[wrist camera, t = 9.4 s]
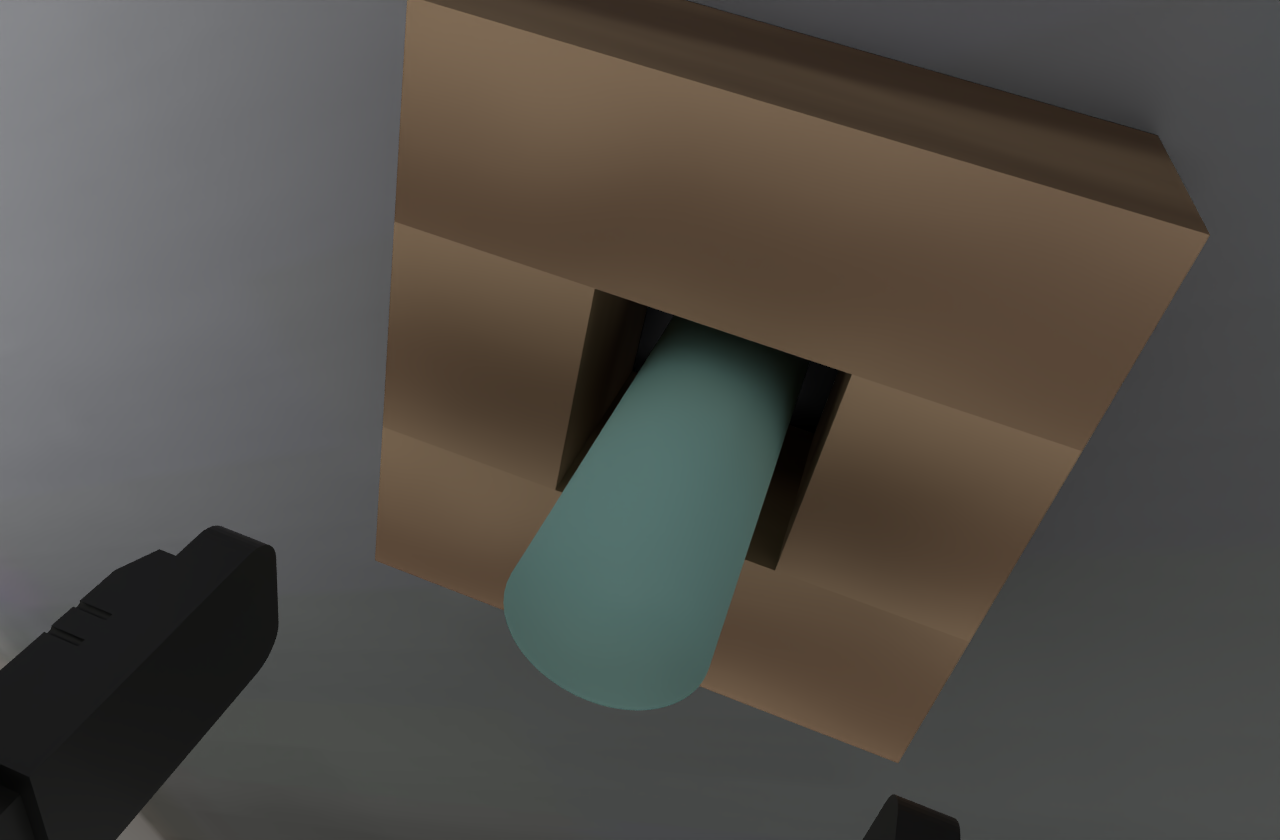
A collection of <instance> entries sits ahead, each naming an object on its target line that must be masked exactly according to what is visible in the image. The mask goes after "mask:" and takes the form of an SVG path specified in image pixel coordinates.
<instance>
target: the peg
mask: <svg viewBox="0 0 1280 840" xmlns="http://www.w3.org/2000/svg"><path fill="white" fill-rule="evenodd" d="M809 362H810V360H807V359H804V358H801V357H798V356H795V355H792V354H789V353H786V352H783V351H780V350H777V349H774V348H771V347H768V346H765V345H762V344H759V343H756V342H753V341H750V340H747V339H744V338H741V337H738V336H735V335H732V334H729V333H726V332H723V331H720V330H717V329H714V328H711V327H708V326H705V325H702V324H700V323H697V322H694V321H691V320H688V319H685V318H682V317H679V316H676V315H674V317H673V318H672V320H671V321H670V323H669V325H668V326H667V328H666V329H665V331H664V333H663V334H662V336H661V337H660V339H659V340H658V342H657V344H656V345H655V347H654V348H653V350H652V352H651V353H650V355H649V356H648V358H647V359H646V361H645V363H644V364H643V366H642V367H641V369H640V371H639V372H638V374H637V375H636V377H635V378H634V380H633V382H632V383H631V385H630V386H629V388H628V390H627V391H626V393H625V394H624V396H623V397H622V399H621V401H620V402H619V404H618V405H617V407H616V409H615V410H614V412H613V413H612V415H611V416H610V418H609V420H608V421H607V423H606V424H605V426H604V427H603V429H602V431H601V432H600V434H599V435H598V437H597V439H596V440H595V442H594V443H593V445H592V446H591V448H590V450H589V451H588V453H587V454H586V456H585V458H584V459H583V461H582V462H581V464H580V465H579V467H578V469H577V470H576V472H575V473H574V475H573V477H572V478H571V480H570V481H569V483H568V484H567V486H566V488H565V489H564V491H563V492H562V494H561V496H560V497H559V499H558V500H557V502H556V503H555V505H554V507H553V508H552V510H551V511H550V513H549V515H548V516H547V518H546V519H545V521H544V522H543V524H542V526H541V527H540V529H539V530H538V532H537V534H536V535H535V537H534V538H533V540H532V541H531V543H530V545H529V546H528V548H527V549H526V551H525V553H524V554H523V556H522V557H521V559H520V560H519V562H518V564H517V565H516V567H515V568H514V570H513V572H512V573H511V575H510V577H509V579H508V581H507V584H506V588H505V591H504V601H503V603H504V614H505V618H506V622H507V625H508V628H509V630H510V633H511V635H512V637H513V638H514V640H515V642H516V644H517V645H518V647H519V648H520V650H521V651H522V653H523V654H524V655H525V656H526V658H527V659H528V660H529V661H530V662H531V663H532V664H533V665H534V666H535V667H536V668H537V669H538V670H539V671H540V672H541V673H542V674H543V675H545V676H546V677H547V678H548V679H550V680H551V681H552V682H554V683H555V684H557V685H558V686H560V687H561V688H563V689H565V690H567V691H568V692H570V693H572V694H574V695H576V696H578V697H581V698H583V699H585V700H588V701H590V702H593V703H596V704H599V705H603V706H607V707H611V708H617V709H623V710H652V709H658V708H663V707H666V706H669V705H672V704H675V703H677V702H679V701H681V700H683V699H684V698H686V697H688V696H689V695H691V694H692V693H693V692H694V691H695V690H696V689H697V688H698V687H699V685H700V684H701V683H702V681H703V680H704V678H705V676H706V674H707V672H708V670H709V667H710V664H711V660H712V657H713V654H714V651H715V648H716V645H717V642H718V639H719V636H720V633H721V630H722V627H723V624H724V621H725V618H726V615H727V612H728V609H729V606H730V603H731V600H732V597H733V594H734V591H735V588H736V584H737V581H738V578H739V575H740V572H741V569H742V566H743V563H744V560H745V557H746V554H747V551H748V548H749V545H750V542H751V539H752V536H753V533H754V530H755V527H756V524H757V521H758V518H759V515H760V511H761V508H762V505H763V502H764V499H765V496H766V493H767V490H768V487H769V484H770V481H771V478H772V475H773V472H774V469H775V466H776V463H777V460H778V457H779V454H780V451H781V448H782V445H783V442H784V439H785V435H786V432H787V429H788V426H789V423H790V420H791V417H792V414H793V411H794V408H795V405H796V402H797V399H798V396H799V393H800V390H801V387H802V384H803V381H804V378H805V375H806V372H807V369H808V366H809Z"/></svg>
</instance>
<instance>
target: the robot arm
mask: <svg viewBox="0 0 1280 840" xmlns="http://www.w3.org/2000/svg"><path fill="white" fill-rule="evenodd" d="M277 632H278V596H277V570H276V553H275V551H274V549H273V547H271V546H270V545H267V544H265V543H262V542H260V541H257V540H255V539H252V538H250V537H247V536H244V535H242V534H239V533H237V532H234V531H232V530H229V529H227V528H224V527H222V526H212V527H209V528H207V529H206V530H204V531H203V532H202V533H200V534H199V535H198V536H197V537H196V538H195V539H194V540H193V541H192V542H190V543H189V544H188V545H187V546H186V547H185V548H184V549H183V550H182V551H181V552H180V553H179V554H177V555H176V556H175V555H172V554H170V553H167V552H165V551H162V550H160V549H159V550H157V551H155V552H153V553H151V554H149V555H146V556H144V557H142V558H140V559H138V560H136V561H134V562H131V563H129V564H127V565H125V566H123V567H121V568H119V569H116V570H115V571H113V572H112V573H111V574H110V575H109V576H108V577H107V578H105V579H104V580H103V581H102V582H101V583H100V584H99V585H97V586H96V587H95V588H94V589H93V590H92V591H91V592H89V593H88V594H87V595H86V596H85V597H84V598H83V599H81V600H80V604H79V605H78V606H77V607H76V608H75V607H72V608H71V609H70V610H69V611H68V612H67V613H65V614H64V615H63V616H62V617H61V618H60V619H58V620H57V621H56V622H55V623H54V624H53V625H52V627H51V630H50V631H49V632H48V633H45V632H44V633H42V634H41V635H40V636H39V637H38V638H37V639H36V640H34V641H33V642H32V643H31V644H30V645H29V646H28V647H26V648H25V649H24V650H23V651H22V652H21V653H20V654H18V655H17V656H16V657H15V658H14V659H13V660H12V661H10V662H9V663H8V664H7V665H6V666H5V667H4V668H2V669H1V670H0V840H116V839H117V838H118V836H119V835H120V834H121V833H122V832H123V831H124V829H125V828H126V827H127V826H128V825H129V824H130V822H131V821H132V820H133V819H134V818H135V816H136V815H137V814H138V813H139V812H140V811H141V809H142V808H143V807H144V806H145V805H146V804H147V802H148V801H149V800H150V799H151V798H152V796H153V795H154V794H155V793H156V792H157V791H158V789H159V788H160V787H161V786H162V785H163V784H164V782H165V781H166V780H167V779H168V778H169V776H170V775H171V774H172V773H173V772H174V771H175V769H176V768H177V767H178V766H179V765H180V763H181V762H182V761H183V760H184V759H185V758H186V756H187V755H188V754H189V753H190V752H191V750H192V749H193V748H194V747H195V746H196V745H197V743H198V742H199V741H200V740H201V739H202V737H203V736H204V735H205V734H206V733H207V732H208V730H209V729H210V728H211V727H212V726H213V725H214V723H215V722H216V721H217V720H218V719H219V717H220V716H221V715H222V714H223V713H224V712H225V710H226V709H227V708H228V707H229V706H230V704H231V703H232V702H233V701H234V700H235V699H236V697H237V696H238V695H239V694H240V693H241V691H242V690H243V689H244V688H245V687H246V686H247V684H248V683H249V682H250V681H251V680H252V679H253V677H254V676H255V675H256V674H257V673H258V671H259V670H260V669H261V667H262V666H263V664H264V663H265V661H266V659H267V658H268V656H269V654H270V652H271V650H272V647H273V645H274V642H275V639H276V636H277ZM863 840H960V827H959V823H958V821H957V820H956V819H955V818H953V817H950V816H948V815H945V814H943V813H940V812H937V811H935V810H932V809H930V808H927V807H925V806H922V805H920V804H917V803H915V802H912V801H910V800H907V799H905V798H902V797H899V796H897V795H891V796H890V797H889V798H888V800H887V801H886V803H885V804H884V806H883V807H882V809H881V811H880V812H879V814H878V816H877V817H876V819H875V820H874V822H873V824H872V825H871V827H870V829H869V830H868V832H867V834H866V835H865V837H864V838H863Z"/></svg>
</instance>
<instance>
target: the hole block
mask: <svg viewBox="0 0 1280 840" xmlns="http://www.w3.org/2000/svg"><path fill="white" fill-rule="evenodd" d="M1209 236H1210V234H1209V232H1208V230H1207V228H1206V226H1205V224H1204V223H1203V221H1202V219H1201V217H1200V215H1199V213H1198V211H1197V209H1196V207H1195V205H1194V204H1193V202H1192V200H1191V198H1190V196H1189V194H1188V192H1187V190H1186V188H1185V186H1184V184H1183V183H1182V181H1181V179H1180V177H1179V175H1178V173H1177V171H1176V169H1175V167H1174V165H1173V163H1172V162H1171V160H1170V158H1169V156H1168V154H1167V152H1166V150H1165V148H1164V146H1163V144H1162V143H1161V141H1160V139H1159V137H1158V136H1157V135H1154V134H1150V133H1147V132H1143V131H1140V130H1136V129H1133V128H1129V127H1126V126H1122V125H1119V124H1115V123H1112V122H1108V121H1105V120H1101V119H1098V118H1095V117H1091V116H1088V115H1084V114H1081V113H1077V112H1074V111H1070V110H1067V109H1063V108H1060V107H1056V106H1053V105H1049V104H1046V103H1042V102H1039V101H1035V100H1032V99H1028V98H1025V97H1021V96H1018V95H1014V94H1011V93H1007V92H1004V91H1000V90H997V89H993V88H990V87H986V86H983V85H979V84H976V83H972V82H969V81H965V80H962V79H958V78H955V77H951V76H948V75H944V74H941V73H937V72H934V71H931V70H927V69H924V68H920V67H917V66H913V65H910V64H906V63H903V62H899V61H896V60H892V59H889V58H885V57H882V56H878V55H875V54H871V53H868V52H864V51H861V50H857V49H854V48H850V47H847V46H843V45H840V44H836V43H833V42H829V41H826V40H822V39H819V38H815V37H812V36H808V35H805V34H801V33H798V32H794V31H791V30H787V29H784V28H780V27H777V26H773V25H770V24H767V23H763V22H760V21H756V20H753V19H749V18H746V17H742V16H739V15H735V14H732V13H728V12H725V11H721V10H718V9H714V8H711V7H707V6H704V5H700V4H697V3H693V2H690V1H686V0H407V12H406V29H405V47H404V64H403V82H402V99H401V117H400V134H399V152H398V169H397V187H396V204H395V222H394V239H393V257H392V274H391V292H390V309H389V327H388V344H387V362H386V379H385V397H384V414H383V431H382V449H381V466H380V484H379V501H378V519H377V536H376V554H375V560H376V561H378V562H381V563H383V564H386V565H389V566H391V567H394V568H396V569H399V570H401V571H404V572H407V573H409V574H412V575H414V576H417V577H420V578H422V579H425V580H427V581H430V582H432V583H435V584H438V585H440V586H443V587H445V588H448V589H450V590H453V591H456V592H458V593H461V594H463V595H466V596H469V597H471V598H474V599H476V600H479V601H481V602H484V603H487V604H489V605H492V606H494V607H497V608H499V609H502V610H504V603H503V601H504V591H505V588H506V584H507V581H508V579H509V577H510V575H511V573H512V572H513V570H514V568H515V567H516V565H517V564H518V562H519V560H520V559H521V557H522V556H523V554H524V553H525V551H526V549H527V548H528V546H529V545H530V543H531V541H532V540H533V538H534V537H535V535H536V534H537V532H538V530H539V529H540V527H541V526H542V524H543V522H544V521H545V519H546V518H547V516H548V515H549V513H550V511H551V510H552V508H553V507H554V505H555V503H556V502H557V500H558V499H559V497H560V496H561V494H562V492H563V491H564V489H565V488H566V486H567V484H568V483H569V481H570V480H571V478H572V477H573V475H574V473H575V472H576V470H577V469H578V467H579V465H580V464H581V462H582V461H583V459H584V458H585V456H586V454H587V453H588V451H589V450H590V448H591V446H592V445H593V443H594V442H595V440H596V439H597V437H598V435H599V434H600V432H601V431H602V429H603V427H604V426H605V424H606V423H607V421H608V420H609V418H610V416H611V415H612V413H613V412H614V410H615V409H616V407H617V405H618V404H619V402H620V401H621V399H622V397H623V396H624V394H625V393H626V391H627V390H628V388H629V386H630V385H631V383H632V382H633V380H634V378H635V377H636V375H637V374H638V373H637V372H634V371H633V366H634V362H635V358H636V354H637V349H638V345H639V341H640V336H641V332H642V328H643V324H644V319H645V315H646V311H647V307H648V306H649V307H652V308H655V309H658V310H661V311H664V312H667V313H670V314H673V315H676V316H679V317H682V318H685V319H688V320H691V321H694V322H697V323H700V324H702V325H705V326H708V327H711V328H714V329H717V330H720V331H723V332H726V333H729V334H732V335H735V336H738V337H741V338H744V339H747V340H750V341H753V342H756V343H759V344H762V345H765V346H768V347H771V348H774V349H777V350H780V351H783V352H786V353H789V354H792V355H795V356H798V357H801V358H804V359H807V360H810V361H813V362H816V363H819V364H822V365H825V366H828V367H831V368H834V369H837V370H838V373H837V375H836V378H835V381H834V383H833V386H832V388H831V391H830V394H829V396H828V399H827V402H826V404H825V407H824V409H823V412H822V415H821V417H820V420H819V423H818V425H817V428H816V430H815V433H811V432H808V431H806V430H803V429H800V428H797V427H794V426H791V425H789V426H788V429H787V432H786V435H785V439H784V442H783V445H782V448H781V451H780V454H779V457H778V460H777V463H776V466H775V469H774V472H773V475H772V478H771V481H770V484H769V487H768V490H767V493H766V496H765V499H764V502H763V505H762V508H761V511H760V515H759V518H758V521H757V524H756V527H755V530H754V533H753V536H752V539H751V542H750V545H749V548H748V551H747V554H746V557H745V560H744V563H743V566H742V569H741V572H740V575H739V578H738V581H737V584H736V588H735V591H734V594H733V597H732V600H731V603H730V606H729V609H728V612H727V615H726V618H725V621H724V624H723V627H722V630H721V633H720V636H719V639H718V642H717V645H716V648H715V651H714V654H713V657H712V660H711V664H710V667H709V670H708V672H707V674H706V676H705V678H704V680H703V681H702V683H701V684H700V685H699V686H701V687H703V688H706V689H708V690H711V691H714V692H716V693H719V694H721V695H724V696H726V697H729V698H732V699H734V700H737V701H739V702H742V703H744V704H747V705H750V706H752V707H755V708H757V709H760V710H763V711H765V712H768V713H770V714H773V715H775V716H778V717H781V718H783V719H786V720H788V721H791V722H794V723H796V724H799V725H801V726H804V727H806V728H809V729H812V730H814V731H817V732H819V733H822V734H824V735H827V736H830V737H832V738H835V739H837V740H840V741H843V742H845V743H848V744H850V745H853V746H855V747H858V748H861V749H863V750H866V751H868V752H871V753H873V754H876V755H879V756H881V757H884V758H886V759H889V760H892V761H894V762H897V763H898V762H899V761H900V759H901V757H902V756H903V754H904V752H905V751H906V749H907V747H908V745H909V744H910V742H911V740H912V739H913V737H914V735H915V734H916V732H917V730H918V729H919V727H920V725H921V723H922V722H923V720H924V718H925V717H926V715H927V713H928V712H929V710H930V708H931V707H932V705H933V703H934V701H935V700H936V698H937V696H938V695H939V693H940V691H941V690H942V688H943V686H944V685H945V683H946V681H947V679H948V678H949V676H950V674H951V673H952V671H953V669H954V668H955V666H956V664H957V663H958V661H959V659H960V657H961V656H962V654H963V652H964V651H965V649H966V647H967V646H968V644H969V642H970V640H971V639H972V637H973V635H974V634H975V632H976V630H977V629H978V627H979V625H980V624H981V622H982V620H983V618H984V617H985V615H986V613H987V612H988V610H989V608H990V607H991V605H992V603H993V602H994V600H995V598H996V596H997V595H998V593H999V591H1000V590H1001V588H1002V586H1003V585H1004V583H1005V581H1006V580H1007V578H1008V576H1009V574H1010V573H1011V571H1012V569H1013V568H1014V566H1015V564H1016V563H1017V561H1018V559H1019V558H1020V556H1021V554H1022V552H1023V551H1024V549H1025V547H1026V546H1027V544H1028V542H1029V541H1030V539H1031V537H1032V535H1033V534H1034V532H1035V530H1036V529H1037V527H1038V525H1039V524H1040V522H1041V520H1042V519H1043V517H1044V515H1045V513H1046V512H1047V510H1048V508H1049V507H1050V505H1051V503H1052V502H1053V500H1054V498H1055V497H1056V495H1057V493H1058V491H1059V490H1060V488H1061V486H1062V485H1063V483H1064V481H1065V480H1066V478H1067V476H1068V475H1069V473H1070V471H1071V469H1072V468H1073V466H1074V464H1075V463H1076V461H1077V459H1078V458H1079V456H1080V454H1081V453H1082V451H1083V449H1084V447H1085V446H1086V444H1087V442H1088V441H1089V439H1090V437H1091V436H1092V434H1093V432H1094V430H1095V429H1096V427H1097V425H1098V424H1099V422H1100V420H1101V419H1102V417H1103V415H1104V414H1105V412H1106V410H1107V408H1108V407H1109V405H1110V403H1111V402H1112V400H1113V398H1114V397H1115V395H1116V393H1117V392H1118V390H1119V388H1120V386H1121V385H1122V383H1123V381H1124V380H1125V378H1126V376H1127V375H1128V373H1129V371H1130V370H1131V368H1132V366H1133V364H1134V363H1135V361H1136V359H1137V358H1138V356H1139V354H1140V353H1141V351H1142V349H1143V348H1144V346H1145V344H1146V342H1147V341H1148V339H1149V337H1150V336H1151V334H1152V332H1153V331H1154V329H1155V327H1156V326H1157V324H1158V322H1159V320H1160V319H1161V317H1162V315H1163V314H1164V312H1165V310H1166V309H1167V307H1168V305H1169V303H1170V302H1171V300H1172V298H1173V297H1174V295H1175V293H1176V292H1177V290H1178V288H1179V287H1180V285H1181V283H1182V281H1183V280H1184V278H1185V276H1186V275H1187V273H1188V271H1189V270H1190V268H1191V266H1192V265H1193V263H1194V261H1195V259H1196V258H1197V256H1198V254H1199V253H1200V251H1201V249H1202V248H1203V246H1204V244H1205V243H1206V241H1207V239H1208V237H1209Z"/></svg>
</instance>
